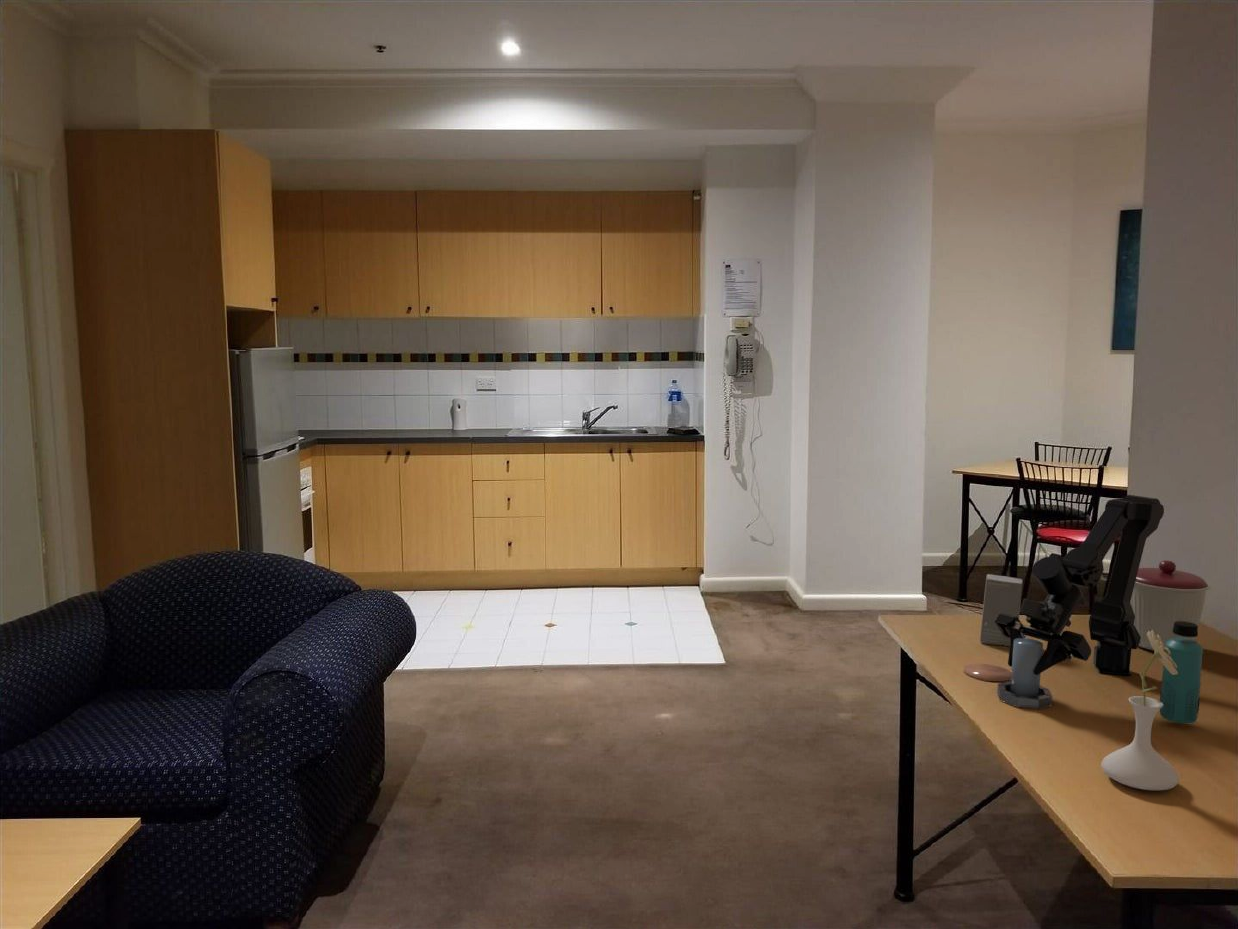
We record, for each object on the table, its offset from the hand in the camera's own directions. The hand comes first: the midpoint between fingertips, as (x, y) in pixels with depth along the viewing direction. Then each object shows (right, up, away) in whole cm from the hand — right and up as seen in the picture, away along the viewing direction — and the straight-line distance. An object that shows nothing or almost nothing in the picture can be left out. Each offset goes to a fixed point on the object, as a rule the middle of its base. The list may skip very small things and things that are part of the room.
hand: (1022, 669), depth 194 cm
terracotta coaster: (-1, -4, +17) cm, 17 cm away
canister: (+49, -3, +37) cm, 61 cm away
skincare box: (+11, -2, +39) cm, 41 cm away
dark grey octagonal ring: (+1, -6, +2) cm, 7 cm away
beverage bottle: (+25, -9, -10) cm, 29 cm away
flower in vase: (+5, -11, -33) cm, 36 cm away
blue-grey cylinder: (+1, -6, +2) cm, 7 cm away
